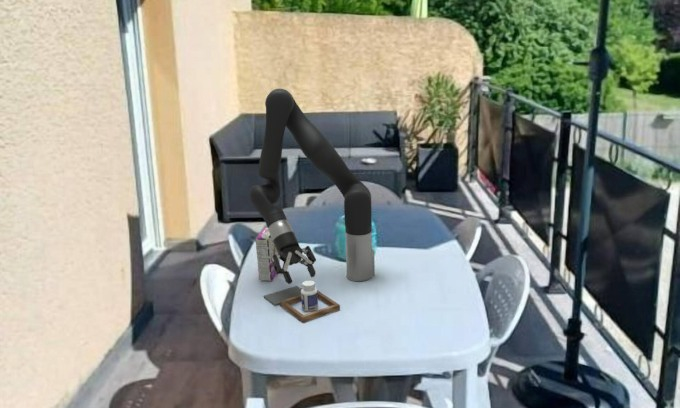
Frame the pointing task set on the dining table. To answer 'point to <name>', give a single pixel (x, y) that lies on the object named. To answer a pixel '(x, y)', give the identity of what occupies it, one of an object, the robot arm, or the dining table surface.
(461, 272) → the dining table surface
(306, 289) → the pill bottle
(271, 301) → the charcoal mat
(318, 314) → the walnut frame
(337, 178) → the robot arm
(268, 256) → the candy bar box
